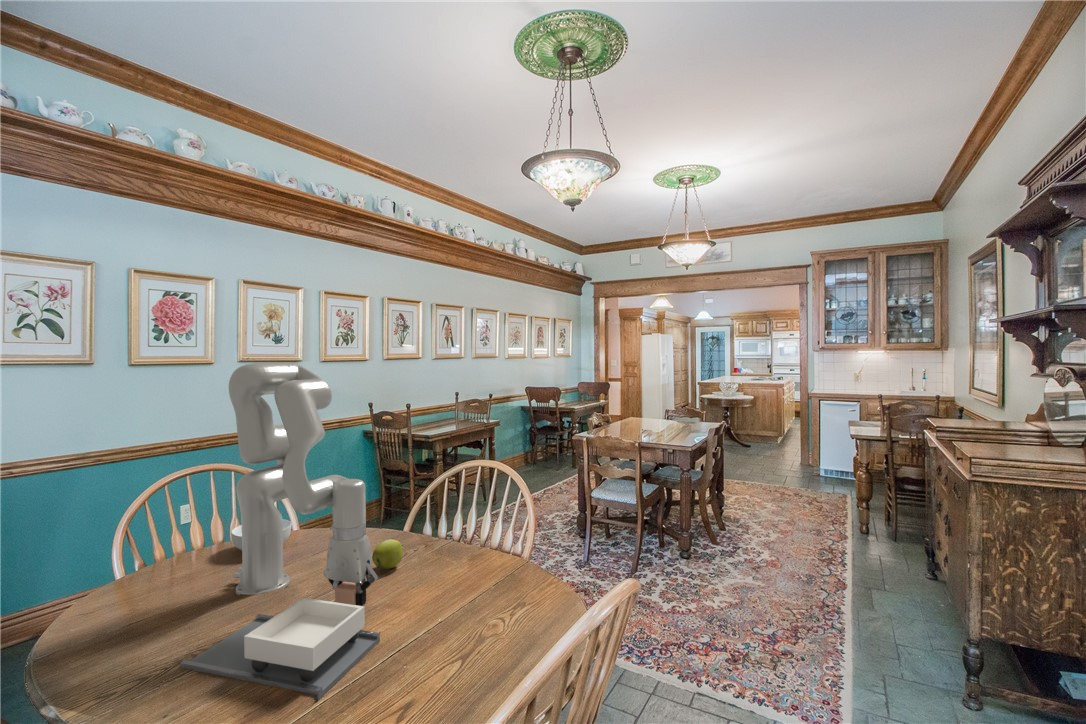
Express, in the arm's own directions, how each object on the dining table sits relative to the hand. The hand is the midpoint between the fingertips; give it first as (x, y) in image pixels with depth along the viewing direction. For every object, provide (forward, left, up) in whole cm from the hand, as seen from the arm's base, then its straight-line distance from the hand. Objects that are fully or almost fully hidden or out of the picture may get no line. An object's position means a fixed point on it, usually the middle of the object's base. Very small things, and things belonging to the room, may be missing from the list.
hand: (350, 604), depth 121 cm
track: (-1, -20, -1) cm, 20 cm away
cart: (+5, -20, 0) cm, 21 cm away
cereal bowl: (-52, +26, -1) cm, 58 cm away
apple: (-4, +23, -1) cm, 23 cm away
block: (0, 0, -1) cm, 1 cm away
